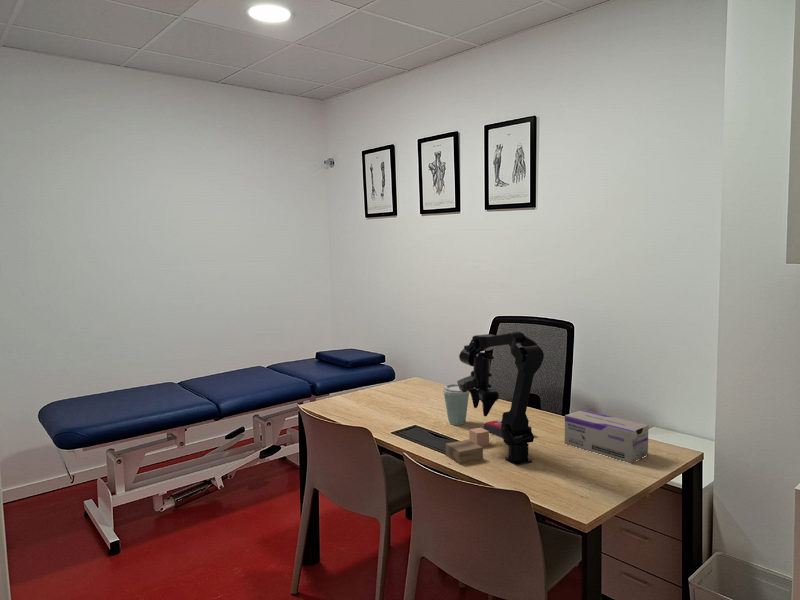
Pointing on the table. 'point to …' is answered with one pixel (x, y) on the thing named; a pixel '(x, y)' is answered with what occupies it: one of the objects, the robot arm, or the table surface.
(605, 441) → the surgical sutures box
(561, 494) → the table surface
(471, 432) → the terracotta cube
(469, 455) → the walnut block
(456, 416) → the disposable coffee cup
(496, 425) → the calculator
